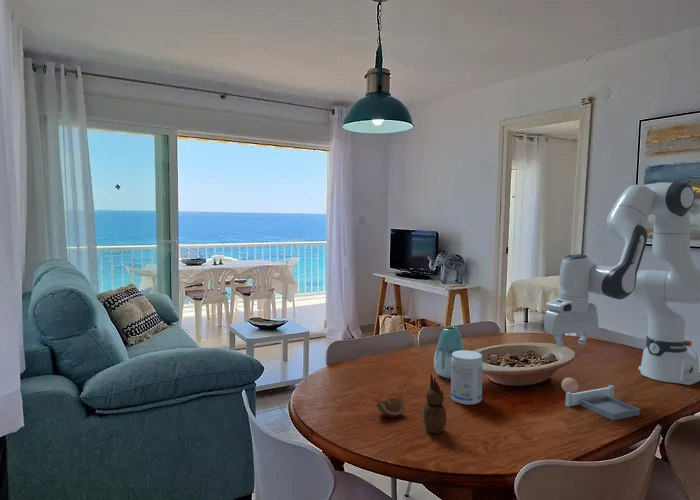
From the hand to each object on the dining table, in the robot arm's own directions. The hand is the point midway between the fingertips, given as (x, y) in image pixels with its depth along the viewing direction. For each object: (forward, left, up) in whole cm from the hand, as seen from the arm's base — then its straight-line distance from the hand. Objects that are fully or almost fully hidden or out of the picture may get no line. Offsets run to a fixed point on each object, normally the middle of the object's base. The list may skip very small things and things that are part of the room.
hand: (570, 345), depth 152 cm
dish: (0, +15, -16) cm, 22 cm away
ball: (0, 0, -16) cm, 16 cm away
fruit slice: (+64, -5, -16) cm, 66 cm away
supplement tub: (+36, -7, -16) cm, 40 cm away
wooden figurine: (+57, +8, -16) cm, 60 cm away
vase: (+28, -28, -16) cm, 43 cm away
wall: (0, +8, -16) cm, 18 cm away
